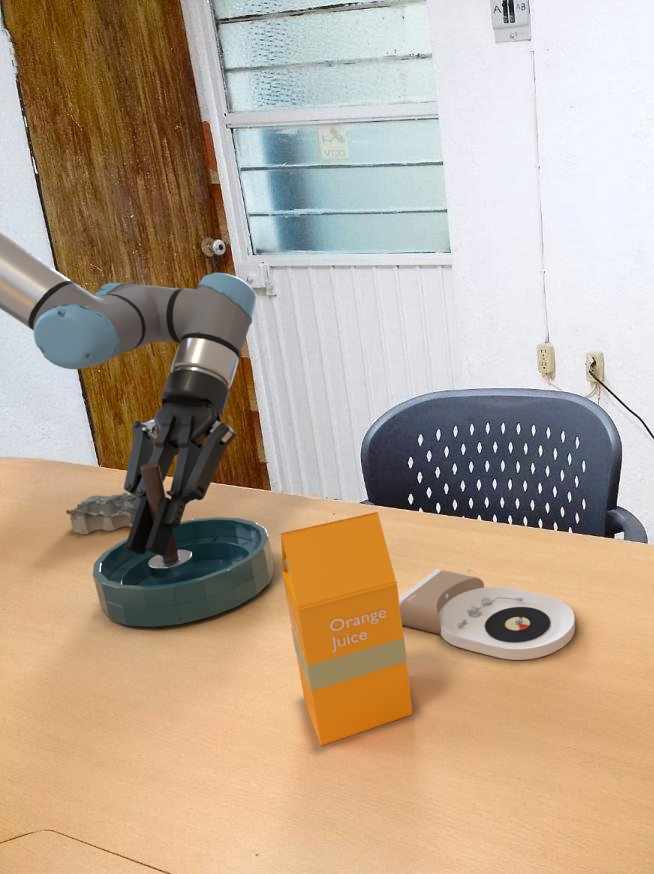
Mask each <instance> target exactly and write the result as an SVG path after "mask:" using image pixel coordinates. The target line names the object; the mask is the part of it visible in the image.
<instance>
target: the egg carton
mask: <svg viewBox="0 0 654 874" xmlns="http://www.w3.org/2000/svg"><path fill="white" fill-rule="evenodd" d="M135 501H136V497H135V496H134V495H132V494H130V493H129V492H127V491H126V492H125V491H124V492H123V493H121V494H111V495H109V496H107V495H105V496H104V495H92V496H89V497H87V498H85V499H84V500H82V501H80V503H77V506H76V507H74V508H73V509H66V510H65V513H66V515H67V514H68V515H69V516H70V522H71V527H72V529H73V530H72V531H73V533H75V534H77V533H78V534H80V535H88V534H91V533H92V532H94V531H99V530H104V531H106V532H110V531H115V530H117V529H120V528H124V527H130V528H131V527H132V523H131V522H130V515H131V513H132V510H133V507H134V504H135Z"/></svg>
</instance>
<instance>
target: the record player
mask: <svg viewBox="0 0 654 874" xmlns="http://www.w3.org/2000/svg"><path fill="white" fill-rule="evenodd" d="M398 597H399V605H400V613H401V621H402V626H405V627H409V628H413V629H416V630H421V631H425V632H428V633H432V634H436V635H440V637H442V638H443V640H444V641H446V642H447V643H448V644H450V645H452V646H455V647H458V648H460V649H464V650H467V651H471V652H474V653H479V654H483V655H486V656H489V657H490V656H491V657H494V658H500V659H504V660H509V661H511V660H512V661H523V660H524V661H525V660H532V659H539V658H542V657H545V656H548V655H550V654H553V653H555V652H558V651H559V650H561V649H562V648H564V647H565V646H566V645H567V644H568V643H570V641H571V640H572V638H573V637H574V634H575V631H576V621H575V613H574V611H573V609H572V608H571V607H570V605H569V604H567V603H566V602H564V601H563V600H561V599H559V598H556V597H554V596H550V595H545V594H541V593H537V592H534V591H533V592H532V591H529V590H524V589H518V588H513V587H508V586H487V587H485V584H484V581H483V580H482V579H481V578H479V577H476V576H471V575H466V574H462V573H457V572H453V571H449V570H444V569H438V568H436V569H434V570H433V571H432V572H431V573H429V574H428V575H426V576H425V577H424V578H422V579H421V580H420V581H419V582H418V583H416V584H415V585H414V586H412V587H411V588H410V589H408V590H407V591H406V592H405V593H404V594H402V595H401V596H398Z"/></svg>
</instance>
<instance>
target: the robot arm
mask: <svg viewBox="0 0 654 874" xmlns="http://www.w3.org/2000/svg"><path fill="white" fill-rule="evenodd" d="M256 302H257V297H256V293H255V291H254V290H253V288H252V287H251V286H250V285H249V284H248V283H247V282H246V281H244V279H243V280H242V279H241V278H239V277H237V276H234V275H233V274H232V275H231V274H229V273H224V272H213V273H211V274H206V275H204V276H203V277H202V279H201V280H200V282H199V283H198V285H197V288H177V287H168V286H167V287H166V286H157V285H147V284H139V283H136V282H129V281H128V282H125V283H124V282H123V283H121V282H109V283H105V284H103V285H102V286H100V288H99V291H97V292H96V293H95V294H92V293H91V292H90V291H87V290H86V289H84V288H83V287H81V286H80V285H79V284H77V283H76V282H75V281H72V280H71V279H69V278H68V277H66V276H65V275H63V274H62V273H61V272H59V271H57V270H56V269H54V268H53V267H52V266H50V265H49V264H47V263H46V262H44V261H43V260H42V259H40V258H39V257H37V256H36V255H34V254H33V253H31V252H30V251H28V250H27V249H26V248H24V247H22V246H21V245H19V243H16V242H15V241H14V240H13V239H11V238H10V237H8V236H6V235H5V234H4V233H2V232H1V231H0V310H1V311H3V312H4V313H6V314H7V315H8V316H10V317H12V318H14V319H15V320H17V321H18V322H20V323H21V324H23V325H24V326H25V327H27V328H29V329H30V330H32V332H33V338H34V343H35V345H36V348H38V349H39V350H40V352H41V353H42V355H43V357H44V358H45V359H46V360H47V361H49V363H51V364H52V365H54V366H57V367H59V368H62V369H66V370H80V369H85V368H89V367H92V366H98V365H102V364H105V363H106V362H109V361H110V360H111V359H113V358H115V357H118V356H120V355H121V354H125V353H128V352H131V351H133V350H136V349H139V348H141V347H144V346H147V345H148V344H151V343H169V344H178V347H177V348H176V351H175V355H174V357H173V360H172V363H171V366H170V373H169V374H168V375H167V378H166V381H165V384H164V387H163V390H162V393H161V406H160V408H159V410H157V412H156V413H155V415H154V416H153V419H151V420H147V421H145V422H141V421H140V420H135V421H134V422H133V423H132V425H131V428H132V434H133V440H132V446H131V450H130V455H129V459H128V466H127V470H126V474H125V480H124V484H123V489H124V491H126V493H128V494H129V495H130V494H132V495H134V496H135V497H136V501H135V504H134V507H133V510H132V513H131V515H130V522H131V523H132V527H130V531H129V533H128V537H127V538H126V539H127V542H126V545H125V547H126V548H127V549H129V550H131V551H133V552H135V553H137V554H143V555H144V554H145V551H146V549H148V550H150V551H152V552H154V553H156V554H158V555H165V553H166V550H167V546H168V543H169V540H170V537H171V534H172V530H173V528H177V527H178V526H179V524H180V522H182V518H183V516H184V512H185V509H186V506H187V504H189V502H192V501H195V500H196V501H202V500H204V498H205V496H206V494H207V492H208V490H209V487H210V485H211V483H212V480H213V478H214V476H215V474H216V471H217V469H218V468H219V464H220V462H221V460H222V458H223V456H224V453H225V451H226V449H227V447H229V445H231V443H233V441H234V439H236V436H237V433H236V431H235V430H234V429H232V427H230V426H229V425H228V424H227V423H225V422H222V419H221V416H222V415H223V413H224V412H225V408H226V405H227V402H228V398H229V396H230V390H229V389H230V388H231V387H232V385H233V381H234V378H235V375H236V372H237V367H238V365H239V361H240V359H241V353H242V350H243V347H244V344H245V342H246V338H247V335H248V332H249V329H250V326H251V325H252V324H253V316H254V313H255V312H254V311H255V308H256V307H255V306H256ZM157 432H158V433H157ZM176 456H177V458H176V463H175V467H174V471H173V476H172V481H171V486H170V489H169V490H166V491H165V494H166V495H168V496H169V497H170V498H169V497H167V496H166V497H162V499H161V502H160V505H159V508H158V511H157V514H156V517H155V521H154V524H153V521H152V517H151V512H150V508H149V503H148V499H147V495H146V490H145V486H144V481H143V477H142V472H141V466H142V465H145V464H149V463H158V464H159V467H160V472H161V476H162V481H163V483H164V482H165V480H166V477H167V476H168V473H169V471H170V469H171V466H172V464H173V461H174V459H175V457H176Z"/></svg>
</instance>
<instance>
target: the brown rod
mask: <svg viewBox="0 0 654 874" xmlns="http://www.w3.org/2000/svg"><path fill="white" fill-rule="evenodd" d="M141 472H142V477H143V481H144V486H145V490H146V495H147V499H148V503H149V508H150V512H151V517H152V521H153V524H154V521H155V517H156V514H157V511H158V508H159V505H160V502H161V499H162V497H167V494H166V491H165V486H164V482H163V481H162V476H161V472H160V467H159V464H158V463H149V464H145V465H142V466H141ZM148 566H149V570H150V574H151V576H153V577H155V578H171V577H175V576H179V575H182V574H184V573H186V572H188V571H190V570H191V569H192V568H193V566H194V561H193V556H192V553H191V552H190V551H187V550H177V545H176V541H175V536H174V531H173V530H172V534H171V537H170V540H169V543H168V546H167V550H166V553H165V555H156V556H154V557H153V558H151V559H150V560H149V562H148Z"/></svg>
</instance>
